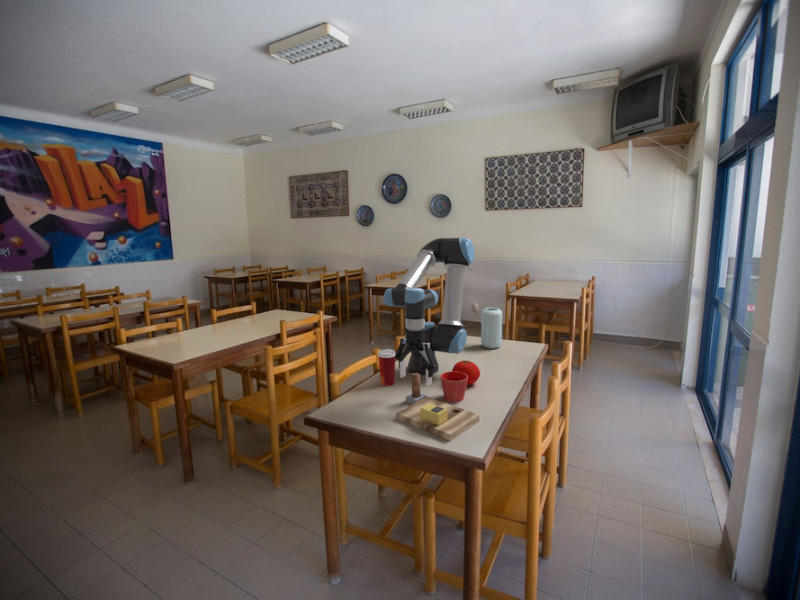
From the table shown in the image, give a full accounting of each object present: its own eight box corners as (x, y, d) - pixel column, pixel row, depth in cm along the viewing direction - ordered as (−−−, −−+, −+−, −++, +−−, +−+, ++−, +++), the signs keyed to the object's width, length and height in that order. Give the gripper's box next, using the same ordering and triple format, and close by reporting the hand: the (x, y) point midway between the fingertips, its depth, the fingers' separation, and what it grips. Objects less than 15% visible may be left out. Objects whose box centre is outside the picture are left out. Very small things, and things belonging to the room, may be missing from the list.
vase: (481, 349, 227) (481, 310, 223) (480, 343, 238) (481, 306, 234) (502, 349, 225) (503, 310, 221) (500, 343, 237) (501, 306, 232)
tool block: (405, 401, 163) (405, 396, 162) (415, 397, 167) (415, 391, 166) (417, 406, 159) (417, 400, 158) (426, 401, 163) (426, 395, 162)
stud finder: (420, 418, 143) (420, 407, 143) (429, 413, 147) (429, 402, 146) (438, 425, 138) (438, 413, 137) (447, 420, 142) (447, 408, 141)
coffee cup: (399, 381, 184) (399, 350, 181) (391, 388, 176) (390, 355, 174) (383, 379, 187) (382, 348, 184) (375, 385, 180) (373, 353, 177)
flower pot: (461, 406, 157) (461, 382, 156) (436, 400, 163) (435, 377, 161) (471, 396, 166) (471, 373, 164) (447, 391, 172) (447, 369, 170)
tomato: (459, 376, 188) (459, 355, 186) (483, 382, 181) (484, 359, 179) (447, 385, 179) (447, 362, 177) (472, 390, 172) (473, 367, 170)
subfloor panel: (396, 419, 149) (396, 412, 148) (427, 402, 162) (427, 396, 161) (450, 441, 133) (450, 434, 132) (479, 420, 146) (479, 414, 145)
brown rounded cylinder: (410, 401, 163) (409, 374, 161) (415, 398, 165) (415, 372, 163) (416, 403, 160) (416, 376, 158) (422, 400, 163) (421, 374, 161)
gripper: (385, 325, 163) (386, 375, 166) (434, 335, 146) (434, 391, 150) (397, 322, 168) (398, 371, 172) (446, 331, 152) (446, 385, 155)
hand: (415, 380), depth 161 cm, fingers open, 13 cm apart
